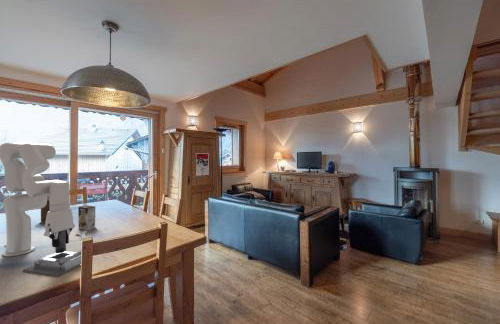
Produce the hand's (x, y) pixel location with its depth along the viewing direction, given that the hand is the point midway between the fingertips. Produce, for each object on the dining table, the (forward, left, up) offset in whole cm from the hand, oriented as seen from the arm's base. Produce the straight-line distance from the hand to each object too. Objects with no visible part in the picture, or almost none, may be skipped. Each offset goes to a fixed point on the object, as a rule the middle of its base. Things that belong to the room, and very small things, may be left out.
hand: (60, 244), depth 109 cm
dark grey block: (0, 0, -3) cm, 3 cm away
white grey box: (+1, 0, -9) cm, 10 cm away
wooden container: (-83, +60, -11) cm, 103 cm away
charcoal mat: (-1, 0, -10) cm, 11 cm away
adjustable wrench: (-25, +33, -11) cm, 43 cm away
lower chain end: (-2, 0, -9) cm, 10 cm away
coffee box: (-39, +50, -11) cm, 65 cm away
